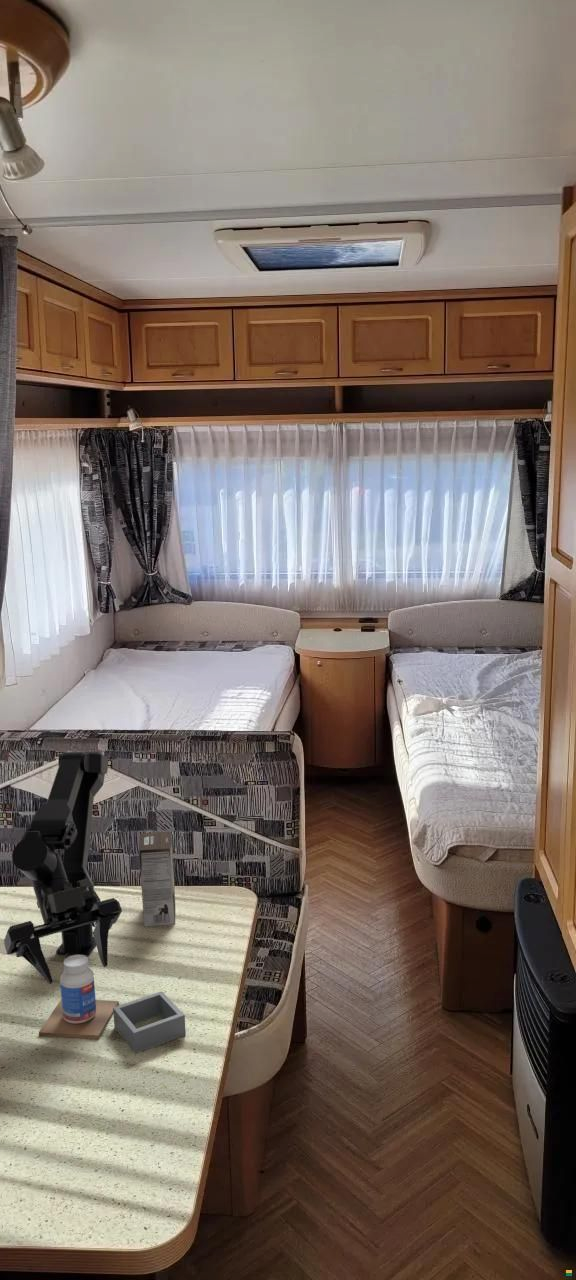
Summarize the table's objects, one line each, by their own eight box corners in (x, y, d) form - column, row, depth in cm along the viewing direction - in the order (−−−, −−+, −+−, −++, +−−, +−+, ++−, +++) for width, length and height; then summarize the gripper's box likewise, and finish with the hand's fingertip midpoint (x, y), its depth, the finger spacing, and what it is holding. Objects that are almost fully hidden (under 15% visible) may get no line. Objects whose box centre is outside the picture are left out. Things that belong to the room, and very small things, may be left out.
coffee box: (144, 906, 200) (139, 832, 197) (176, 904, 200) (171, 830, 197) (143, 927, 191) (137, 849, 188) (176, 924, 191) (171, 847, 188)
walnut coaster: (62, 1001, 165) (61, 998, 165) (118, 1004, 164) (118, 1001, 163) (39, 1035, 155) (38, 1032, 155) (99, 1039, 154) (98, 1035, 154)
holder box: (114, 1027, 157) (112, 1007, 156) (163, 1010, 161) (161, 991, 161) (135, 1053, 150) (133, 1032, 149) (185, 1035, 154) (184, 1014, 153)
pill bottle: (88, 1026, 156) (83, 970, 155) (57, 1023, 158) (52, 968, 156) (101, 1007, 162) (97, 953, 160) (71, 1004, 163) (66, 951, 161)
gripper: (2, 880, 153) (29, 974, 146) (113, 852, 163) (144, 939, 156) (-7, 908, 161) (18, 999, 154) (100, 880, 171) (128, 964, 164)
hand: (78, 974), depth 157 cm, fingers open, 9 cm apart
